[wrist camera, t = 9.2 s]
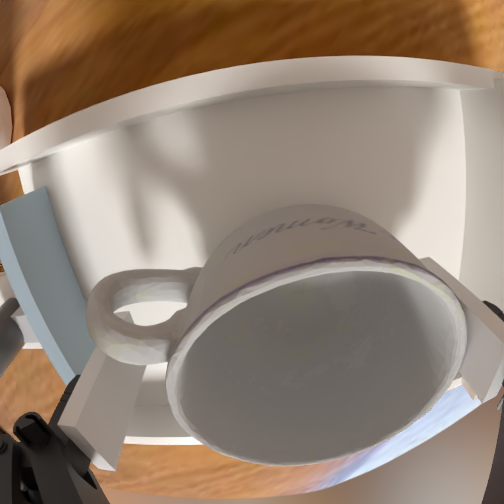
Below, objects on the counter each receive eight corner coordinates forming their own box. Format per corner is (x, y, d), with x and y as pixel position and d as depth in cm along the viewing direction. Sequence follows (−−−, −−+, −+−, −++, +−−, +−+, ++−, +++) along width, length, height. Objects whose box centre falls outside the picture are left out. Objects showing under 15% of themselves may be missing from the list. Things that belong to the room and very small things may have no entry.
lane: (65, 401, 22) (42, 451, 16) (-36, 185, 14) (-94, 210, 8) (447, 348, 20) (483, 398, 15) (461, 76, 13) (532, 71, 7)
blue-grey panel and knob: (53, 393, 19) (26, 447, 14) (-32, 220, 14) (-92, 255, 8) (134, 395, 19) (114, 463, 14) (45, 185, 13) (-31, 221, 8)
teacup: (424, 253, 16) (510, 336, 8) (316, 383, 19) (339, 486, 12) (199, 113, 13) (141, 100, 5) (115, 295, 16) (53, 398, 9)
